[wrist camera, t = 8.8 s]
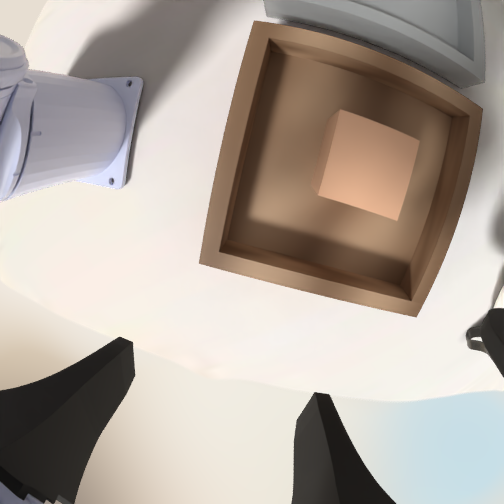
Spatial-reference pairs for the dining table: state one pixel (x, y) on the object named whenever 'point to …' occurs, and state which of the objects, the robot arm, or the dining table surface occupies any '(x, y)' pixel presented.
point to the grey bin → (404, 30)
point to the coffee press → (491, 334)
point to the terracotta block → (364, 164)
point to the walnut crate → (304, 162)
